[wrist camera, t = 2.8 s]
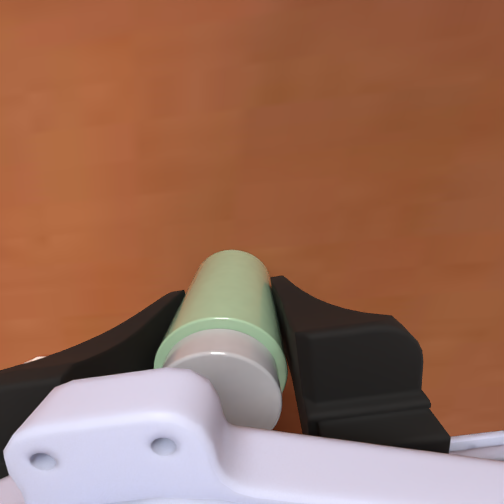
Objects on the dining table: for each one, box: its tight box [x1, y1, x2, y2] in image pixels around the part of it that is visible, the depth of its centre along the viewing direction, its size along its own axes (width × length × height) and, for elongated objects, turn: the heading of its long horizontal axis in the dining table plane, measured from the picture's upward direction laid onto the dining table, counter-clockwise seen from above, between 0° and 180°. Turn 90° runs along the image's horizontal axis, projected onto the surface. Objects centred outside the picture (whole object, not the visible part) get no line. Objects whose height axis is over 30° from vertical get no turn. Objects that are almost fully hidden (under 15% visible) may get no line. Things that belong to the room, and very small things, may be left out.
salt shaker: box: [154, 250, 288, 430], centre depth 10 cm, size 4×4×8 cm
